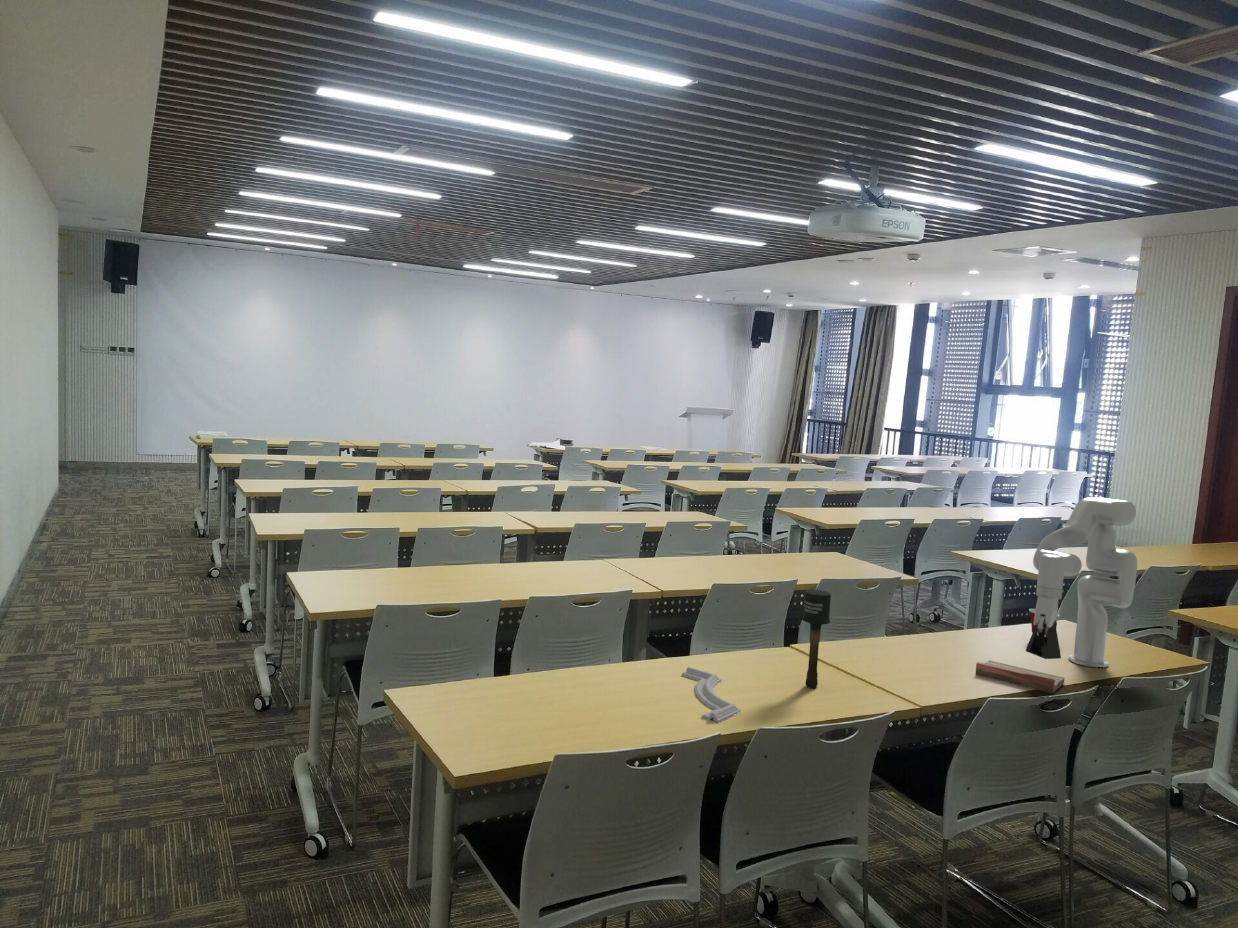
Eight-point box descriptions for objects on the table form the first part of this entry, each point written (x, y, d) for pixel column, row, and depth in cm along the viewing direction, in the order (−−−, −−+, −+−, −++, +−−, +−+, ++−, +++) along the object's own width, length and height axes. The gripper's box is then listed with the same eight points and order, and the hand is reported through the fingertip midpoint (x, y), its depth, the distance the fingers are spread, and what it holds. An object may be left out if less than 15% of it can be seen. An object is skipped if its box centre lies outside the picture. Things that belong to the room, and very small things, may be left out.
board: (988, 665, 302) (989, 654, 301) (1063, 683, 286) (1065, 671, 286) (975, 674, 291) (976, 662, 291) (1052, 693, 275) (1053, 680, 275)
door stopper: (1061, 658, 280) (1064, 622, 279) (1046, 659, 279) (1049, 622, 278) (1040, 650, 289) (1043, 615, 288) (1025, 651, 287) (1028, 615, 286)
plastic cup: (1063, 645, 333) (1066, 615, 332) (1037, 645, 332) (1040, 614, 331) (1045, 637, 344) (1048, 608, 343) (1020, 637, 342) (1023, 607, 341)
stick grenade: (792, 683, 272) (798, 589, 270) (815, 681, 275) (822, 588, 273) (807, 692, 264) (813, 595, 262) (830, 690, 267) (837, 594, 265)
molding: (679, 674, 278) (679, 665, 277) (716, 674, 279) (717, 665, 278) (704, 725, 235) (704, 714, 235) (747, 725, 237) (748, 714, 236)
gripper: (1044, 586, 291) (1038, 639, 292) (1029, 593, 278) (1024, 648, 279) (1068, 590, 286) (1063, 644, 288) (1054, 597, 273) (1049, 653, 275)
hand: (1043, 645), depth 283 cm, fingers closed on door stopper, 5 cm apart
